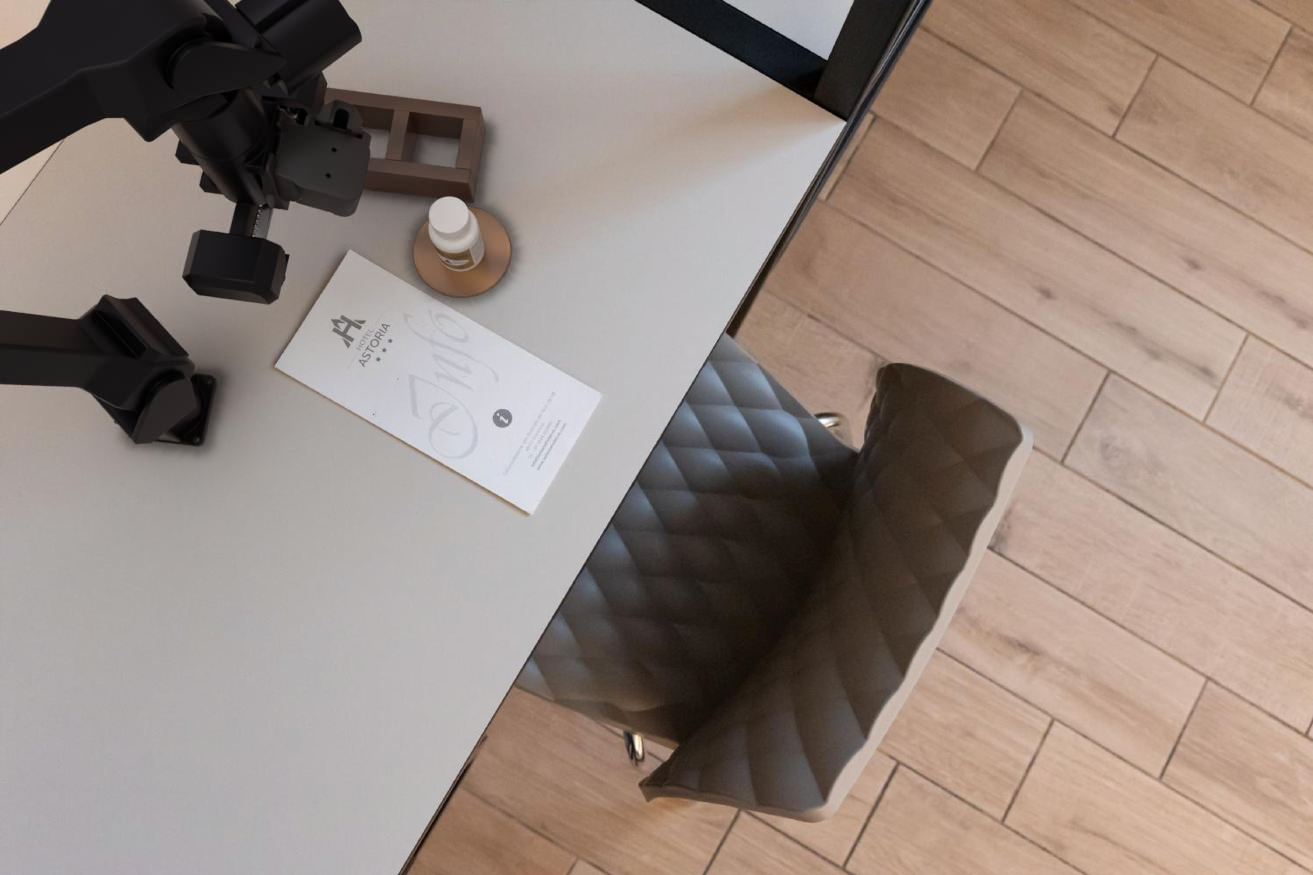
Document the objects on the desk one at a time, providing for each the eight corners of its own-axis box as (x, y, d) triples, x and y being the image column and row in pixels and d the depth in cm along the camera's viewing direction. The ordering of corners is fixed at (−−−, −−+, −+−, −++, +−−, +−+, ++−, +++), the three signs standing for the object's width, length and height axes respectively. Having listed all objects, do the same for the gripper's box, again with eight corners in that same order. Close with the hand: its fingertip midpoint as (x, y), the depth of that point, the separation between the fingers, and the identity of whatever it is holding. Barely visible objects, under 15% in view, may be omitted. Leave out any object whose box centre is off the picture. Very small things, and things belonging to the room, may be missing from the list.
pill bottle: (430, 265, 91) (415, 229, 84) (446, 223, 92) (433, 184, 85) (475, 279, 91) (464, 244, 84) (491, 237, 92) (481, 199, 85)
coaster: (503, 303, 91) (503, 301, 91) (406, 291, 91) (406, 289, 91) (517, 214, 93) (516, 212, 93) (422, 202, 93) (421, 200, 93)
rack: (473, 203, 93) (468, 183, 89) (255, 176, 93) (240, 155, 89) (485, 129, 95) (480, 106, 91) (272, 102, 94) (257, 78, 90)
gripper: (315, 270, 62) (369, 348, 77) (371, 17, 67) (411, 137, 82) (138, 245, 62) (226, 328, 77) (206, -8, 66) (277, 118, 81)
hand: (291, 226), depth 79 cm, fingers open, 9 cm apart
